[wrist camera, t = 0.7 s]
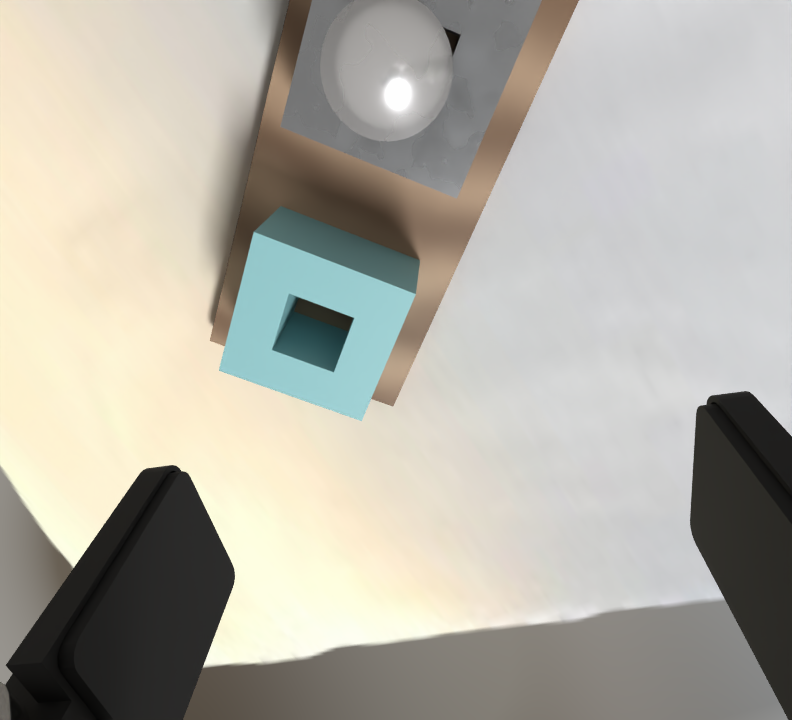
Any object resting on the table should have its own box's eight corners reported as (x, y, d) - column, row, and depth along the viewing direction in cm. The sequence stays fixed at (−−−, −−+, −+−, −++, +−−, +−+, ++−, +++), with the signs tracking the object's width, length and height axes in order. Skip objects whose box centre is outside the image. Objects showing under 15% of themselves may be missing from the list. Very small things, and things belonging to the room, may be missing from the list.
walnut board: (329, -137, 30) (323, -145, 28) (582, -19, 31) (588, -22, 30) (216, 331, 44) (209, 340, 43) (394, 396, 46) (393, 406, 44)
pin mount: (357, -78, 30) (338, -104, 24) (528, 1, 31) (545, -9, 25) (305, 114, 34) (280, 126, 29) (455, 176, 36) (456, 198, 30)
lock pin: (387, 0, 31) (343, -34, 18) (463, 34, 32) (475, 25, 18) (360, 86, 33) (304, 112, 20) (432, 116, 34) (423, 160, 21)
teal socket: (280, 206, 37) (253, 231, 32) (420, 260, 38) (415, 293, 33) (247, 330, 42) (218, 370, 37) (371, 375, 43) (361, 421, 38)
